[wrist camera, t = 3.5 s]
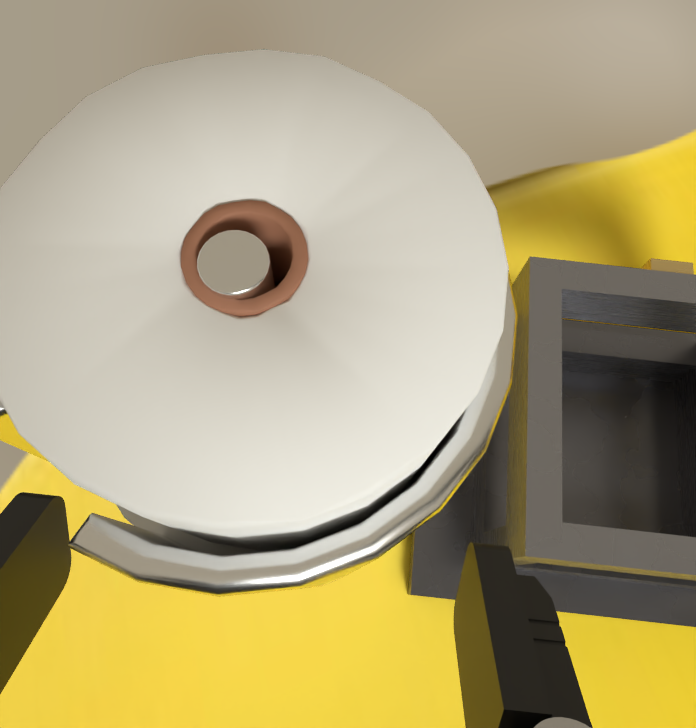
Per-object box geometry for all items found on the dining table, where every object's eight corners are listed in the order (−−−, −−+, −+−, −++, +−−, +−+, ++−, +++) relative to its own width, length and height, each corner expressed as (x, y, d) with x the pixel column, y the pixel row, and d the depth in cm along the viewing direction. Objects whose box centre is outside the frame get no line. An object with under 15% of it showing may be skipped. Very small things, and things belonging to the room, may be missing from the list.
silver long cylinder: (226, 462, 31) (-102, 61, 7) (358, 433, 32) (451, -20, 8) (250, 603, 29) (-97, 682, 5) (390, 569, 30) (645, 506, 6)
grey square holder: (731, 346, 34) (879, 259, 25) (759, 634, 29) (952, 655, 20) (428, 312, 34) (464, 213, 25) (407, 594, 29) (443, 598, 20)
